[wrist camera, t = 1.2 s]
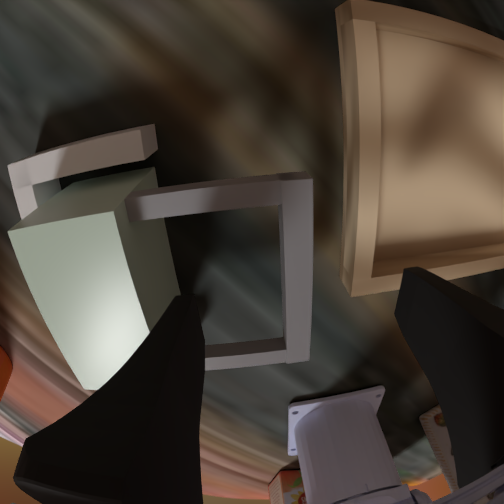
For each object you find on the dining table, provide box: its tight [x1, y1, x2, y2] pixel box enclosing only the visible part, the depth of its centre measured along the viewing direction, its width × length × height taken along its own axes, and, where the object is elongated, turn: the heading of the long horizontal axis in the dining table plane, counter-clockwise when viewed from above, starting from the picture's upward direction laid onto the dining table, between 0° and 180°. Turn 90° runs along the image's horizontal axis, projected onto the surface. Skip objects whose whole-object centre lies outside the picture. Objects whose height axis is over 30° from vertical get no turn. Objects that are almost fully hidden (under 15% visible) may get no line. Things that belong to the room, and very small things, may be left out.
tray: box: [335, 0, 504, 297], centre depth 13 cm, size 14×16×2 cm
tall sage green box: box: [8, 167, 313, 390], centre depth 13 cm, size 10×8×6 cm
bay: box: [8, 124, 158, 219], centre depth 14 cm, size 7×12×2 cm, turn 5°
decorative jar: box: [419, 404, 496, 504], centre depth 20 cm, size 12×12×18 cm
